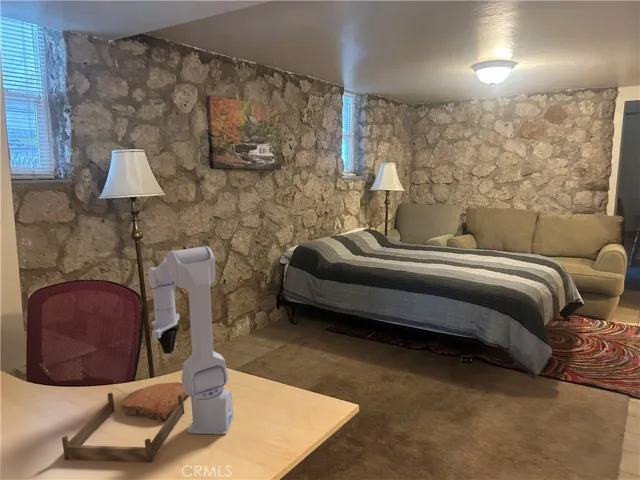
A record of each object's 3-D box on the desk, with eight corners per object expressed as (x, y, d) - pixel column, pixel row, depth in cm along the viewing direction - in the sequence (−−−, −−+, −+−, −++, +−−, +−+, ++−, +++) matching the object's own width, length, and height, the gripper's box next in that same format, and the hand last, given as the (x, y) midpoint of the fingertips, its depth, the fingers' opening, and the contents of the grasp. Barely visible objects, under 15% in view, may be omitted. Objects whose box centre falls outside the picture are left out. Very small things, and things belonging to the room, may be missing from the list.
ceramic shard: (145, 372, 131) (194, 383, 128) (143, 394, 131) (191, 405, 129) (113, 391, 116) (167, 405, 114) (110, 416, 117) (164, 430, 114)
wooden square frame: (185, 411, 119) (183, 394, 118) (151, 462, 100) (149, 442, 99) (111, 410, 121) (109, 392, 120) (63, 459, 101) (60, 439, 100)
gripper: (161, 299, 139) (165, 341, 141) (139, 316, 124) (144, 362, 127) (184, 299, 138) (188, 342, 141) (164, 316, 124) (169, 363, 126)
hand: (168, 352), depth 134 cm, fingers closed
